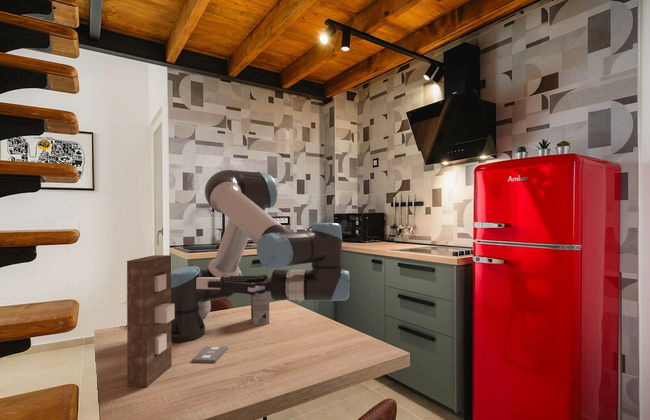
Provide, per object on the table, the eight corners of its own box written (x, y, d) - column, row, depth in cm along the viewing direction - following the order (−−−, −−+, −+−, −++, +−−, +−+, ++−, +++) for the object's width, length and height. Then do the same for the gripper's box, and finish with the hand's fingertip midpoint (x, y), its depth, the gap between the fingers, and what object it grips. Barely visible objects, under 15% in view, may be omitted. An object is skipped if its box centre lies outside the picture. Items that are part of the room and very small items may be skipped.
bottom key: (166, 348, 95) (166, 333, 95) (158, 354, 91) (158, 338, 91) (152, 348, 95) (152, 333, 95) (143, 354, 91) (143, 338, 91)
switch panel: (171, 366, 99) (170, 255, 99) (146, 387, 87) (146, 260, 87) (154, 365, 99) (153, 255, 100) (127, 386, 87) (126, 260, 88)
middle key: (174, 318, 95) (174, 303, 95) (166, 323, 91) (166, 307, 91) (160, 318, 95) (160, 303, 95) (151, 323, 91) (151, 307, 91)
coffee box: (250, 319, 143) (250, 279, 143) (266, 317, 145) (266, 278, 145) (252, 325, 134) (252, 283, 135) (269, 323, 136) (269, 282, 137)
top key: (166, 288, 95) (166, 273, 95) (158, 291, 91) (158, 276, 91) (152, 288, 95) (151, 273, 95) (143, 291, 91) (143, 276, 91)
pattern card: (227, 349, 111) (227, 346, 111) (215, 362, 101) (215, 359, 101) (206, 348, 111) (206, 345, 111) (191, 362, 101) (191, 358, 102)
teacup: (201, 322, 140) (201, 301, 140) (177, 320, 142) (177, 300, 142) (219, 312, 154) (219, 293, 154) (196, 311, 156) (196, 293, 156)
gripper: (283, 306, 83) (185, 304, 84) (292, 293, 96) (207, 291, 97) (283, 274, 83) (185, 272, 84) (292, 265, 96) (207, 264, 97)
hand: (197, 282), depth 91 cm, fingers closed
